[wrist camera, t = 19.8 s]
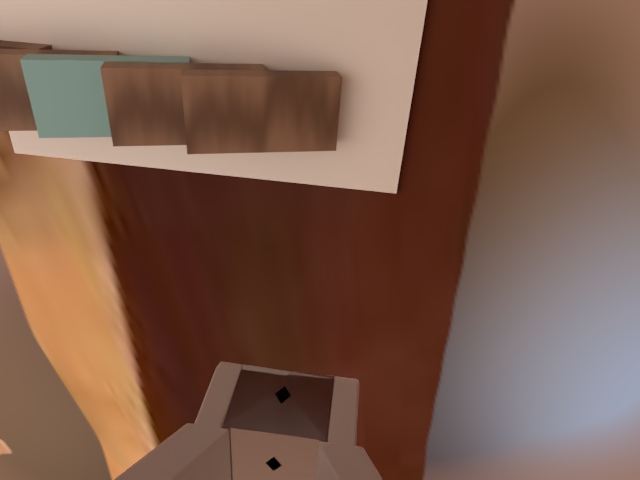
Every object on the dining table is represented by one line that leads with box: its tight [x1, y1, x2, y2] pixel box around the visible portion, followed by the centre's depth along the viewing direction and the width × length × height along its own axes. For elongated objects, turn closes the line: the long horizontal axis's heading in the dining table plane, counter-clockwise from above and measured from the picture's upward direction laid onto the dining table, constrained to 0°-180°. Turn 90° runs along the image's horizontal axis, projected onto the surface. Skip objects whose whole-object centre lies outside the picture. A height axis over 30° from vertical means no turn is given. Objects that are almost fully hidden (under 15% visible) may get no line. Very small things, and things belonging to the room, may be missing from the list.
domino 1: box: [0, 49, 119, 131], centre depth 34 cm, size 5×2×10 cm
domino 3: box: [181, 69, 342, 154], centre depth 33 cm, size 5×2×10 cm
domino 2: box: [100, 62, 265, 146], centre depth 33 cm, size 5×2×10 cm
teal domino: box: [20, 54, 190, 138], centre depth 33 cm, size 5×2×10 cm
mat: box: [0, 0, 428, 193], centre depth 32 cm, size 24×30×1 cm
